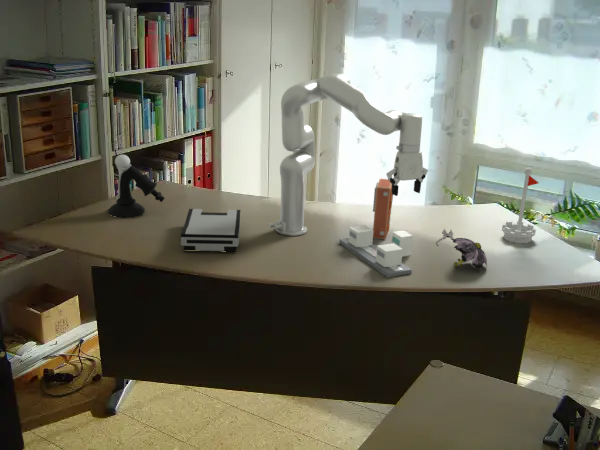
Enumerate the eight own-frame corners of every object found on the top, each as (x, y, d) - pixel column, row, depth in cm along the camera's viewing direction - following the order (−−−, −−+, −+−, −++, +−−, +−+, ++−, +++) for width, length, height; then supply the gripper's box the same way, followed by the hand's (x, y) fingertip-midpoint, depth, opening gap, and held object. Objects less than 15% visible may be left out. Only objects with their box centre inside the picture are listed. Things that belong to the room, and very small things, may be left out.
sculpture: (111, 206, 300) (108, 149, 291) (166, 207, 302) (165, 151, 293) (105, 217, 286) (101, 159, 277) (163, 218, 288) (161, 160, 279)
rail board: (387, 277, 241) (387, 273, 240) (339, 242, 270) (339, 239, 270) (411, 273, 245) (411, 269, 244) (361, 239, 274) (361, 236, 274)
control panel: (390, 228, 288) (387, 240, 274) (373, 226, 289) (369, 238, 276) (394, 178, 281) (391, 189, 267) (377, 177, 282) (373, 187, 268)
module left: (355, 247, 261) (356, 232, 259) (347, 242, 266) (348, 227, 264) (372, 245, 264) (373, 230, 262) (364, 239, 269) (365, 225, 267)
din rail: (394, 271, 242) (395, 270, 242) (347, 238, 271) (347, 237, 270) (403, 270, 243) (403, 269, 243) (355, 237, 272) (355, 236, 272)
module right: (383, 267, 244) (385, 251, 242) (375, 261, 249) (376, 245, 247) (401, 264, 247) (402, 249, 245) (392, 258, 252) (393, 243, 250)
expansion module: (398, 257, 259) (400, 237, 256) (390, 251, 264) (391, 231, 261) (410, 255, 261) (412, 235, 258) (401, 249, 266) (403, 230, 263)
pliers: (438, 246, 270) (428, 228, 288) (438, 248, 270) (428, 230, 289) (462, 247, 270) (451, 229, 289) (462, 249, 270) (451, 231, 289)
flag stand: (495, 238, 283) (505, 167, 272) (510, 230, 292) (520, 161, 282) (524, 247, 274) (536, 174, 264) (539, 239, 284) (551, 168, 273)
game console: (240, 225, 284) (240, 207, 281) (238, 255, 254) (238, 235, 251) (189, 224, 283) (189, 205, 280) (181, 254, 253) (180, 233, 250)
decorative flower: (492, 253, 240) (454, 232, 245) (476, 282, 243) (439, 261, 248) (497, 250, 254) (461, 231, 259) (482, 278, 256) (446, 258, 261)
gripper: (394, 152, 243) (391, 198, 248) (435, 148, 250) (431, 193, 256) (383, 147, 249) (380, 193, 255) (423, 144, 256) (419, 188, 262)
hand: (405, 193), depth 255 cm, fingers open, 9 cm apart
